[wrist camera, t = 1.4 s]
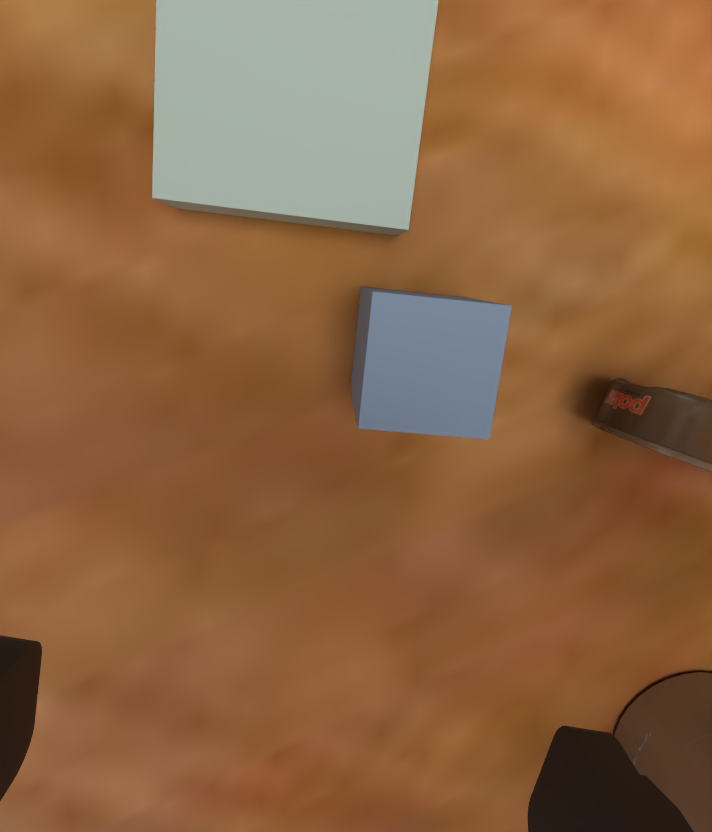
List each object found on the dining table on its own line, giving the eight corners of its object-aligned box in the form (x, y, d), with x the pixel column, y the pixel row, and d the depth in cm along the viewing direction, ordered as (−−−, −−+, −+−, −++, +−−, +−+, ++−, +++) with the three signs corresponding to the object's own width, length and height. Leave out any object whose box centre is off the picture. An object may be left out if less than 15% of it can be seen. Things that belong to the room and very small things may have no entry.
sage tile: (427, -10, 23) (446, -66, 19) (396, 236, 26) (408, 230, 22) (187, -48, 23) (158, -115, 19) (179, 209, 25) (152, 197, 21)
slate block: (464, 297, 26) (511, 305, 20) (449, 398, 28) (489, 439, 21) (360, 286, 26) (372, 291, 19) (350, 389, 27) (358, 428, 20)
